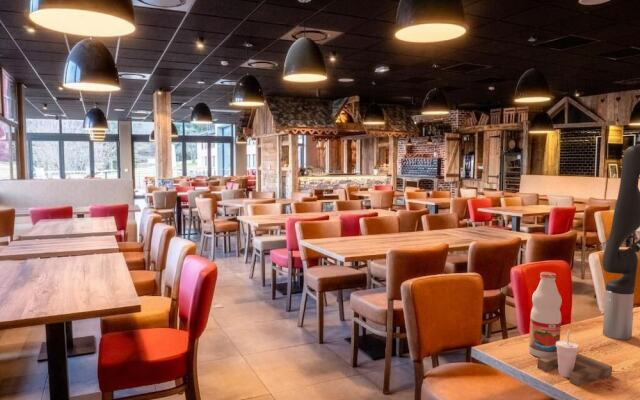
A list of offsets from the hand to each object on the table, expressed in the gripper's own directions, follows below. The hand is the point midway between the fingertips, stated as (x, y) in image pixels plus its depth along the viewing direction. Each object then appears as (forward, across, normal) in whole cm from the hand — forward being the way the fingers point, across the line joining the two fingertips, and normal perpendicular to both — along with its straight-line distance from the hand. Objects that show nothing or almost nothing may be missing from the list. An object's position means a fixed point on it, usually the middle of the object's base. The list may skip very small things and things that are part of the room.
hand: (625, 255), depth 153 cm
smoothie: (+34, +16, +18) cm, 42 cm away
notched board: (+33, +12, +19) cm, 40 cm away
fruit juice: (+41, +4, +11) cm, 43 cm away
